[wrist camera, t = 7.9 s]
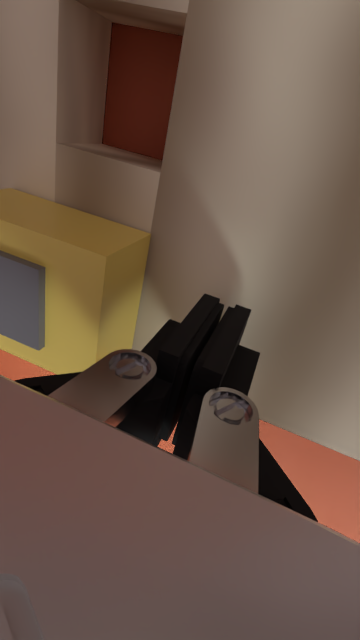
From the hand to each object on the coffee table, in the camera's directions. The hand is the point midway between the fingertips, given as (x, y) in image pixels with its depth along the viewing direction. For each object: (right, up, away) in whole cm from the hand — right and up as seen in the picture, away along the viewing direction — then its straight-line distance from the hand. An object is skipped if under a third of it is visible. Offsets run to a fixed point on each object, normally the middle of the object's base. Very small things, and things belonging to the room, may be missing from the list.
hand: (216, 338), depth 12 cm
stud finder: (-6, +3, +2) cm, 6 cm away
